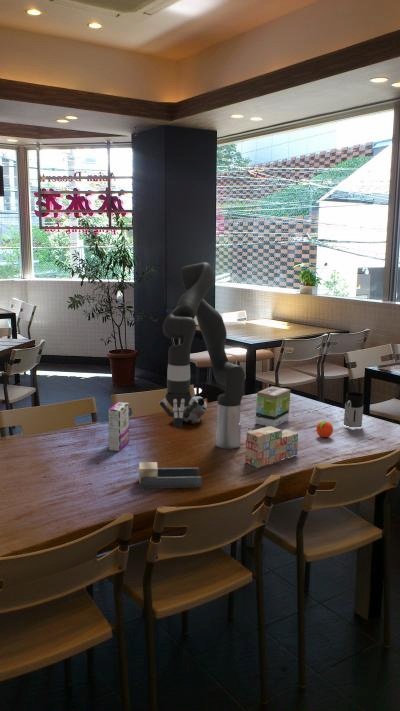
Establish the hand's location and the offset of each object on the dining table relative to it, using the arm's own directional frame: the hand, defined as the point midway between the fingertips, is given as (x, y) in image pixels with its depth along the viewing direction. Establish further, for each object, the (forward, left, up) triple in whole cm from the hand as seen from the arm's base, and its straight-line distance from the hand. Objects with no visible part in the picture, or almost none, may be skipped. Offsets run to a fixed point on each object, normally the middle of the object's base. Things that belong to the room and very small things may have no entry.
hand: (177, 428), depth 202 cm
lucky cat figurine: (-11, -68, -19) cm, 72 cm away
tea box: (-48, -65, -19) cm, 83 cm away
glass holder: (-81, -55, -19) cm, 100 cm away
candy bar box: (+20, -35, -19) cm, 45 cm away
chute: (+2, +1, -19) cm, 19 cm away
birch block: (+10, +1, -18) cm, 20 cm away
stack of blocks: (-37, -19, -19) cm, 46 cm away
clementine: (-65, -43, -19) cm, 80 cm away
